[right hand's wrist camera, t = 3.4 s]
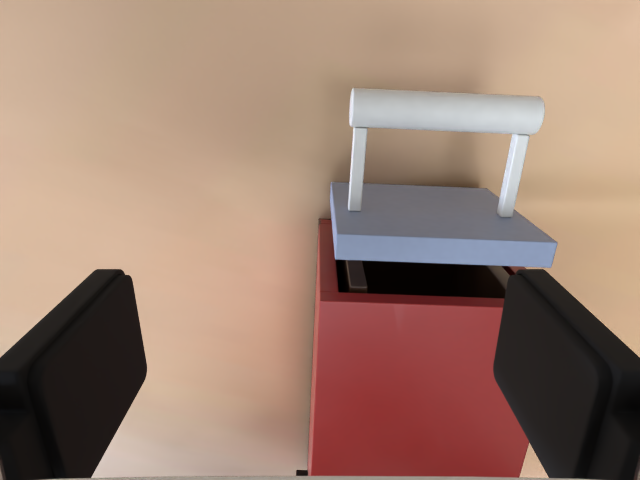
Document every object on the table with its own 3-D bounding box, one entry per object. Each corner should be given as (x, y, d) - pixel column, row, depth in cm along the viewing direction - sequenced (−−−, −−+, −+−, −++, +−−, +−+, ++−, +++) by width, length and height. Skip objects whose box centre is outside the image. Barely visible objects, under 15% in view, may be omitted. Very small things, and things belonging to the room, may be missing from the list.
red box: (318, 218, 29) (319, 300, 19) (483, 225, 29) (567, 309, 19) (307, 466, 37) (303, 613, 27) (437, 469, 37) (479, 617, 27)
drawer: (336, 81, 25) (345, 92, 17) (505, 89, 25) (594, 104, 17) (316, 438, 34) (316, 554, 26) (439, 442, 35) (476, 558, 27)
